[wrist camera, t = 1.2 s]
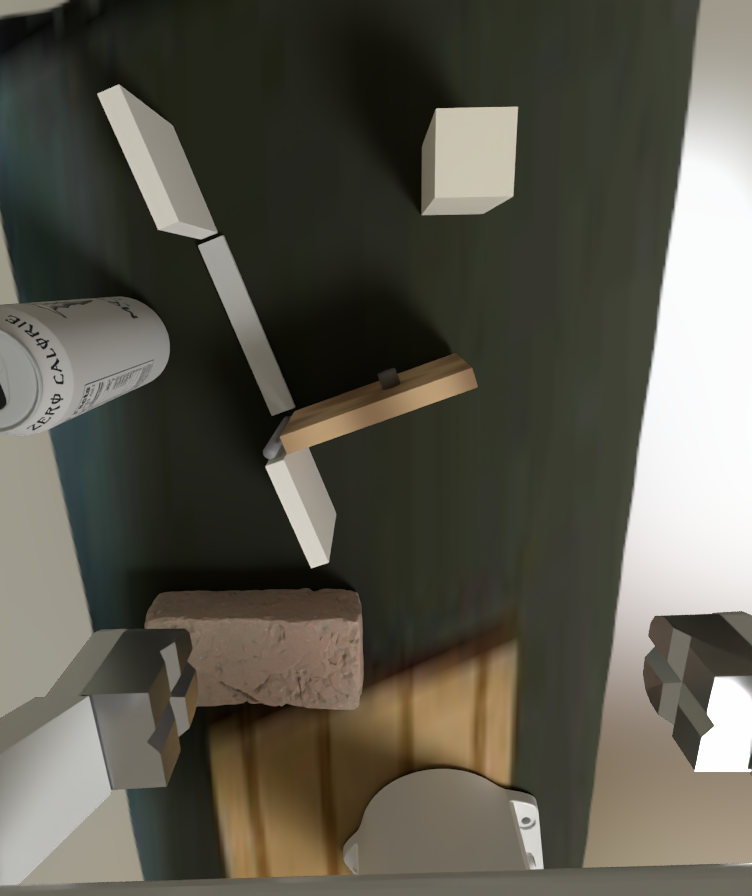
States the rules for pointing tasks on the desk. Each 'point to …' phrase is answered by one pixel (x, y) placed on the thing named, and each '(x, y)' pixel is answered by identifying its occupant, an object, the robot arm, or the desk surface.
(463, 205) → the block
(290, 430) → the door
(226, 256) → the doorframe
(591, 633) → the desk surface
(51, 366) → the energy drink can
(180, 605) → the brick
